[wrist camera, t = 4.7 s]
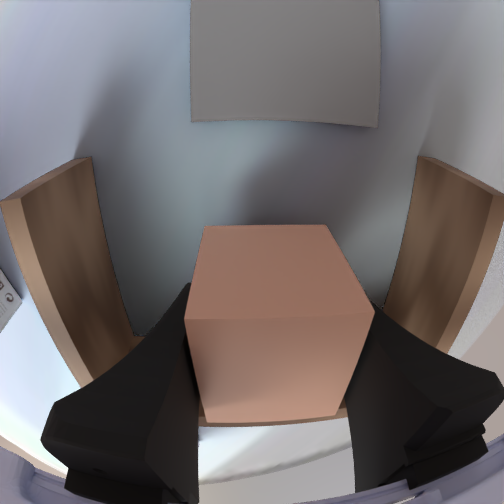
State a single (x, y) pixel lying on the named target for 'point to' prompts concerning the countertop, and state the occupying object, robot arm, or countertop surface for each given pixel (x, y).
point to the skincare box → (7, 301)
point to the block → (274, 323)
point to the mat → (285, 60)
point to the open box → (123, 341)
